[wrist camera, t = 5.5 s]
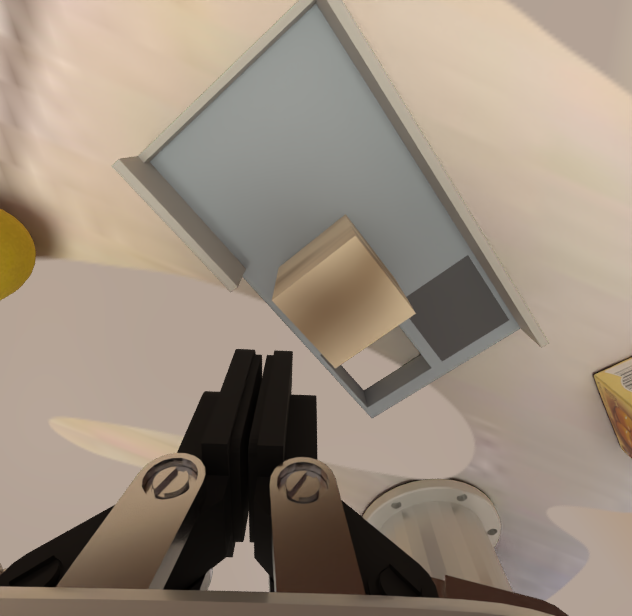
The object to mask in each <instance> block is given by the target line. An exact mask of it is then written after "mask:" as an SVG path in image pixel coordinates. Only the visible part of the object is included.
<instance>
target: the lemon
mask: <svg viewBox="0 0 632 616" xmlns="http://www.w3.org/2000/svg"><path fill="white" fill-rule="evenodd" d="M35 257H36V251H35V246H34V242H33V240H32V238H31V236H30V234H29V232H28V231H27V229H26V228H25V227H24V226H23V224H22V223H20V222H19V221H18V220H17V219H16V218H15V217H14V216H12V215H10V214H9V213H7V212H5V211H4V210H2V209H0V300H2V299H4V298H5V297H7V296H9V295H10V294H12V293H14V292H15V291H16V290H18V289H19V288H20V287H21V286H22V285H23V284H24V282H25V281H26V280H27V279H28V278H29V276H30V275H31V273H32V270H33V268H34V265H35Z"/></svg>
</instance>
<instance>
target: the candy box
mask: <svg viewBox="0 0 632 616" xmlns="http://www.w3.org/2000/svg"><path fill="white" fill-rule="evenodd" d="M594 378H595V381H596V384H597V387H598V389H599V392H600V395H601V398H602V400H603V403H604V405H605V408H606V411H607V413H608V416H609V418H610V420H611V423H612V426H613V428H614V430H615V433H616V435H617V438H618V441H619V443H620V446H621V448H622V450H623V451H624V452H625V453H627V454H628V455H629V456H630V457H631V458H632V357H631V358H629V359H627V360H625V361H622V362H620V363H618V364H616V365H614V366H612V367H610V368H608V369H606V370H604V371H601V372H599V373H596V374H595V375H594Z"/></svg>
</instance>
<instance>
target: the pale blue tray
mask: <svg viewBox="0 0 632 616" xmlns="http://www.w3.org/2000/svg"><path fill="white" fill-rule="evenodd" d="M112 167H113V168H114V169H115V170H116V171H117V172H118V174H119V175H120V176H121V177H122V178H123V179H124V180H125V181H126V182H127V183H128V184H129V185H130V186H131V187H132V188H133V189H134V190H135V192H136V193H137V194H138V195H139V196H140V197H141V198H142V199H143V200H144V201H145V202H146V203H147V204H148V205H149V206H150V207H151V208H152V210H153V211H154V212H155V213H156V214H157V215H158V216H159V217H160V218H161V219H162V220H163V221H164V222H165V223H166V224H167V225H168V226H169V228H170V229H171V230H172V231H173V232H174V233H175V234H176V235H177V236H178V237H179V238H180V239H181V240H182V241H183V242H184V243H185V244H186V246H187V247H188V248H189V249H190V250H191V251H192V252H193V253H194V254H195V255H196V256H197V257H198V258H199V259H200V260H201V261H202V263H203V264H204V265H205V266H206V267H207V268H208V269H209V270H210V271H211V272H212V273H213V274H214V275H215V276H216V277H217V278H218V279H219V281H220V282H221V283H222V284H223V285H224V286H225V287H226V288H227V289H228V290H229V291H230V292H232V291H233V290H235V289H236V288H237V287H238V285H239V283H240V281H241V279H242V277H243V278H244V279H245V280H246V281H247V282H248V283H249V284H250V286H251V287H252V288H253V289H254V290H255V291H256V292H257V293H258V294H259V295H260V296H261V298H262V299H263V300H264V301H265V302H266V303H267V304H268V305H269V306H270V307H271V309H272V310H273V311H274V312H275V313H276V314H277V315H278V316H279V317H280V318H281V319H282V321H283V322H284V323H285V324H286V325H287V326H288V327H289V328H290V329H291V330H292V331H293V332H294V334H295V335H296V336H297V337H298V338H299V339H300V340H301V341H302V342H303V344H304V345H306V347H307V348H308V349H309V350H310V351H311V352H312V353H313V354H314V356H315V357H316V358H317V359H318V360H319V361H320V362H321V363H322V364H323V365H324V366H325V368H326V369H327V370H328V371H329V372H330V373H331V374H332V375H333V376H334V377H335V379H336V380H337V381H338V382H339V383H340V384H341V385H342V386H343V387H344V388H345V390H347V392H348V393H349V394H350V395H351V396H352V397H353V398H354V399H355V400H356V402H357V403H358V404H359V405H360V406H361V407H362V408H363V409H364V410H365V411H366V412H367V414H368V415H369V416H370V417H371V418H374V417H375V416H377V415H379V414H380V413H382V412H384V411H385V410H387V409H388V408H390V407H392V406H393V405H395V404H397V403H398V402H400V401H402V400H403V399H405V398H407V397H408V396H410V395H412V394H413V393H415V392H416V391H418V390H420V389H421V388H423V387H425V386H426V385H428V384H430V383H431V382H433V381H435V380H436V379H438V378H440V377H441V376H443V375H445V374H446V373H448V372H449V371H451V370H453V369H454V368H456V367H458V366H459V365H461V364H463V363H464V362H466V361H468V360H469V359H471V358H473V357H474V356H476V355H477V354H479V353H481V352H482V351H484V350H486V349H487V348H489V347H491V346H492V345H494V344H496V343H497V342H499V341H501V340H502V339H504V338H505V337H507V336H509V335H510V334H512V333H514V332H515V331H517V330H519V329H520V328H521V329H522V330H523V331H524V332H525V333H526V334H527V335H528V336H529V337H530V338H532V339H533V340H534V341H535V342H536V343H537V344H538V345H539V346H540V347H541V348H542V347H544V346H545V345H547V344H549V341H548V340H547V338H546V336H545V335H544V333H543V332H542V330H541V328H540V327H539V325H538V323H537V322H536V320H535V318H534V317H533V315H532V313H531V312H530V310H529V308H528V307H527V305H526V303H525V302H524V300H523V298H522V297H521V295H520V294H519V292H518V290H517V289H516V287H515V285H514V284H513V282H512V280H511V279H510V277H509V275H508V274H507V272H506V270H505V269H504V267H503V265H502V264H501V262H500V260H499V259H498V257H497V255H496V254H495V252H494V251H493V249H492V247H491V246H490V244H489V242H488V241H487V239H486V237H485V236H484V234H483V232H482V231H481V229H480V227H479V226H478V224H477V222H476V221H475V219H474V217H473V216H472V214H471V212H470V211H469V209H468V208H467V206H466V204H465V203H464V201H463V199H462V198H461V196H460V194H459V193H458V191H457V189H456V188H455V186H454V184H453V183H452V181H451V179H450V178H449V176H448V174H447V173H446V171H445V170H444V168H443V166H442V165H441V163H440V161H439V160H438V158H437V156H436V155H435V153H434V151H433V150H432V148H431V146H430V145H429V143H428V141H427V140H426V138H425V136H424V135H423V133H422V131H421V130H420V128H419V127H418V125H417V123H416V122H415V120H414V118H413V117H412V115H411V113H410V112H409V110H408V108H407V107H406V105H405V103H404V102H403V100H402V98H401V97H400V95H399V93H398V92H397V90H396V89H395V87H394V85H393V84H392V82H391V80H390V79H389V77H388V75H387V74H386V72H385V70H384V69H383V67H382V65H381V64H380V62H379V60H378V59H377V57H376V55H375V54H374V52H373V50H372V49H371V47H370V46H369V44H368V42H367V41H366V39H365V37H364V36H363V34H362V32H361V31H360V29H359V27H358V26H357V24H356V22H355V21H354V19H353V17H352V16H351V14H350V12H349V11H348V9H347V8H346V6H345V4H344V3H343V1H342V0H299V1H298V2H297V3H296V4H294V5H293V6H292V7H291V8H290V9H289V10H288V11H287V12H286V13H285V14H284V15H283V16H282V17H281V18H280V19H279V20H278V21H277V22H276V23H275V24H274V25H273V26H272V27H271V28H270V29H269V30H268V31H267V32H266V33H265V34H263V35H262V36H261V37H260V38H259V39H258V40H257V41H256V42H255V43H254V44H253V45H252V46H251V47H250V48H249V49H248V50H247V51H246V52H245V53H244V54H243V55H242V56H241V57H240V58H239V59H238V60H237V61H236V62H235V63H234V64H232V65H231V66H230V67H229V68H228V69H227V70H226V71H225V72H224V73H223V74H222V75H221V76H220V77H219V78H218V79H217V80H216V81H215V82H214V83H213V84H212V85H211V86H210V87H209V88H208V89H207V90H206V91H205V92H204V93H203V94H201V95H200V96H199V97H198V98H197V99H196V100H195V101H194V102H193V103H192V104H191V105H190V106H189V107H188V108H187V109H186V110H185V111H184V112H183V113H182V114H181V115H180V116H179V117H178V118H177V119H176V120H175V121H174V122H173V123H172V124H170V125H169V126H168V127H167V128H166V129H165V130H164V131H163V132H162V133H161V134H160V135H159V136H158V137H157V138H156V139H155V140H154V141H153V142H152V143H151V144H150V145H149V146H148V147H147V148H146V149H145V150H144V151H143V152H142V153H141V154H140V155H138V156H136V157H129V158H122V159H118V160H117V161H116V162H115V163H114V164H113V165H112ZM345 214H346V215H347V217H348V218H349V219H350V221H351V222H352V223H353V225H354V226H355V227H356V228H357V230H358V231H359V232H360V234H361V235H362V236H363V238H364V239H365V240H366V241H367V243H368V244H369V245H370V247H371V248H372V249H373V251H374V252H375V253H376V254H377V256H378V257H379V258H380V260H381V261H382V262H383V264H384V265H385V266H386V268H387V269H388V270H389V271H390V273H391V274H392V275H393V277H394V278H395V279H396V281H397V283H398V284H399V286H400V288H401V289H402V291H403V293H404V294H405V296H406V298H407V299H408V301H409V303H410V305H411V306H412V308H413V310H414V311H415V313H416V314H414V315H413V316H411V317H410V318H409V319H407V320H406V321H404V322H403V323H401V324H400V325H399V327H400V328H401V329H402V330H403V332H404V333H405V334H406V336H407V337H408V338H409V339H410V341H411V342H412V343H413V345H414V346H415V347H416V348H417V350H418V351H419V352H420V354H421V355H419V356H418V357H416V358H415V359H413V360H412V361H410V362H408V363H407V364H405V365H404V366H402V367H400V368H399V369H398V370H396V371H394V372H393V373H391V374H390V375H388V376H386V377H385V378H383V379H381V380H380V381H378V382H377V383H375V384H374V385H372V386H370V387H369V388H367V389H366V390H363V389H362V388H361V387H360V386H359V385H358V384H357V382H356V381H355V380H354V379H353V378H352V377H351V376H350V375H349V374H348V372H346V370H345V369H344V368H343V367H342V366H341V365H340V366H338V367H337V368H334V367H333V365H332V364H331V363H330V362H329V361H328V360H327V359H326V358H325V357H324V356H323V355H322V354H321V353H320V352H319V350H318V349H317V348H316V347H315V346H314V345H313V344H312V343H311V342H310V341H309V340H308V339H307V338H306V337H305V336H304V334H303V333H302V332H301V331H300V330H299V329H298V328H297V327H296V326H295V325H294V324H293V323H292V322H291V321H290V319H289V318H288V317H287V316H286V315H285V314H284V313H283V312H282V311H281V310H280V309H279V308H278V307H277V306H276V304H275V303H274V302H273V301H272V297H273V292H274V287H275V283H276V278H277V273H278V268H279V267H280V266H281V265H282V264H284V263H285V262H286V261H287V260H289V259H290V258H291V257H292V256H294V255H295V254H296V253H297V252H299V251H300V250H301V249H302V248H304V247H305V246H306V245H307V244H309V243H310V242H311V241H312V240H314V239H315V238H316V237H317V236H319V235H320V234H321V233H323V232H324V231H325V230H326V229H328V228H329V227H330V226H331V225H333V224H334V223H335V222H336V221H338V220H339V219H340V218H341V217H343V216H344V215H345Z"/></svg>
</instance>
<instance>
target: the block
mask: <svg viewBox="0 0 632 616" xmlns="http://www.w3.org/2000/svg"><path fill="white" fill-rule="evenodd" d="M272 301H273V302H274V303H275V304H276V306H277V307H278V308H279V309H280V310H281V311H282V312H283V313H284V314H285V315H286V316H287V317H288V318H289V319H290V321H291V322H292V323H293V324H294V325H295V326H296V327H297V328H298V329H299V330H300V331H301V332H302V333H303V334H304V336H305V337H306V338H307V339H308V340H309V341H310V342H311V343H312V344H313V345H314V346H315V347H316V348H317V349H318V350H319V352H320V353H321V354H322V355H323V356H324V357H325V358H326V359H327V360H328V361H329V362H330V363H331V364H332V365H333V367H334V368H337V367H338V366H340V365H341V364H343V363H344V362H346V361H347V360H349V359H350V358H352V357H353V356H354V355H356V354H357V353H359V352H360V351H362V350H363V349H365V348H366V347H368V346H369V345H371V344H372V343H373V342H375V341H376V340H378V339H379V338H381V337H382V336H384V335H385V334H387V333H388V332H390V331H391V330H392V329H394V328H395V327H397V326H398V325H400V324H401V323H403V322H404V321H406V320H407V319H409V318H410V317H411V316H413V315H414V314H416V313H415V311H414V310H413V308H412V306H411V305H410V303H409V301H408V299H407V298H406V296H405V294H404V293H403V291H402V289H401V288H400V286H399V284H398V283H397V281H396V279H395V278H394V277H393V275H392V274H391V273H390V271H389V270H388V269H387V268H386V266H385V265H384V264H383V262H382V261H381V260H380V258H379V257H378V256H377V254H376V253H375V252H374V251H373V249H372V248H371V247H370V245H369V244H368V243H367V241H366V240H365V239H364V238H363V236H362V235H361V234H360V232H359V231H358V230H357V228H356V227H355V226H354V225H353V223H352V222H351V221H350V219H349V218H348V217H347V215H346V214H345V215H344V216H343V217H341V218H340V219H339V220H338V221H336V222H335V223H334V224H333V225H331V226H330V227H329V228H328V229H326V230H325V231H324V232H323V233H321V234H320V235H319V236H317V237H316V238H315V239H314V240H312V241H311V242H310V243H309V244H307V245H306V246H305V247H304V248H302V249H301V250H300V251H299V252H297V253H296V254H295V255H294V256H292V257H291V258H290V259H289V260H287V261H286V262H285V263H284V264H282V265H281V266H280V267H279V268H278V273H277V278H276V283H275V287H274V292H273V297H272Z"/></svg>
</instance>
